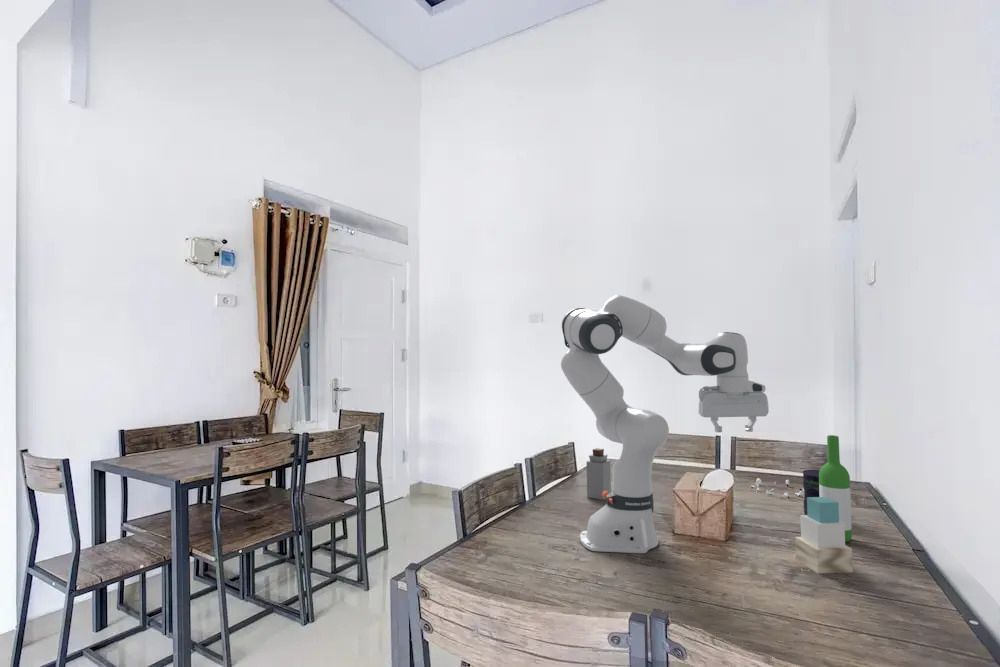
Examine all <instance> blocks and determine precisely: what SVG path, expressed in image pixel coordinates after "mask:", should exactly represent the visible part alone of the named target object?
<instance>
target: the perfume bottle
mask: <svg viewBox="0 0 1000 667" xmlns="http://www.w3.org/2000/svg"><path fill="white" fill-rule="evenodd" d="M604 453H605V449H604V448H600V447H599V448H597V447H595V448H593V449H592V454H589V455H588V457H589V460H587V461H586V498H590V499H596V500H601V501H605V500H606V499H605V498H604V497H603V496H602V493H603V491H607V492H608V493H610V492H612V490H611V488H612V487H611V485H612V483H611V480H612V479H611V477H612V475H611V460H610V459H608V454H604Z"/></svg>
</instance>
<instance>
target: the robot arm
mask: <svg viewBox="0 0 1000 667" xmlns="http://www.w3.org/2000/svg"><path fill="white" fill-rule="evenodd" d="M667 328H668V326H667V321H666V318H665V317H664V315H663V314H661V313H660V312H659V311H658V310H656V309H654V308H652V307H651V306H648V305H647V304H645V303H643V302H641V301H638V300H635V299H633V298H631V297H627V296H623V295H619V294H618V295H614V296H612V297H610V298H609V299H607V301H606V302H605V303H604V305H603V307H602V308H601V309H600V310H599V311H595V310H592V309H587V308H585V307H578V308H573V309H570V310H569V311H568V312H567V313H566V314H565V315H564V316H563V318H562V322H561V331H562V335H563V340H564V345H565V347H566V348H568V351H567V352H566V353H565V354H564V355H563V357H562V359H561V362H560V367H561V371H562V373H563V374H564V376H565V377H566V379H567V382H569V384H570V385H571V387H572V388H573V390H575V392H576V393H577V394H578V395H579V397H580V398H581V399H582V401H584V402H585V404H586V405H587V406H588V407H589V409H590V410H591V411H592V412H593V415H594V416H595V418H596V420H595V425H596V429H597V431H598V433H599V434H600V435H601V436H603V437H604V438H606V440H609V441H611V442H614V443H617V444H621V445H622V451H621V454H620V457H619V458H618V459H616V461H615V462H614V463H613V465H612V490H611V492H610V493H608V492H607V491H603V493H602V496H603V497H604V498H605V499H604V500H606V504H605V505H603V507H601V508H600V509H599V510H597V511H595V513H593V514H591V515H590V517H589V518H588V521H587V528H586V530H582V531H581V532H580V534H579V541H580V543H581V544H582V546H583V547H584V548H586V549H587V550H589V551H592V552H603V553H604V552H605V553H606V552H607V553H608V552H610V553H625V554H626V553H629V554H646V553H647V552H649V551H650V550H651V549H654V548H656V547H658V545H659V540H658V537H657V533H656V528H655V524H654V514H653V513H654V508H655V506H654V502H655V501H654V494H653V493H652V468H653V463H654V459H655V456H656V454H657V452H658V450H659V449H661V447H663V446H664V445H665V444H666V442H667V440H668V438H669V434H670V432H669V431H670V428H669V424H668V422H667V420H666V419H665V418H664V417H663V416H661V415H659V414H658V413H655V412H653V411H651V410H648V409H641V408H634V407H632V406H630V405H629V404H627V403H626V401H625V399H624V394H625V392H624V391H625V390H624V387H623V385H622V384H621V383H620V382H619V381H618V380H617V378H616V377H615V376H614V375H613V374H612V372H611V371H610V370H609V369H608V367H607V366H606V365H605V364H604V363H603V362H602V360H601V358H600V356H599V355H602V354H606V353H607V352H608V353H609V351H611V350H612V349H613V348H614V347H615V346H616V344H617V343H618V340H620V338H621V337H623V338H625V339H626V340H628V341H630V342H632V343H634V344H636V345H638V346H641V347H644V348H646V349H647V350H649V351H650V352H652V353H654V354H655V355H658V356H659V357H661V358H663V359H664V360H665V361H667V362H668V363H669V364H670V366H671V367H672V368H673V369H674V370H675V371H676V372H677V373H678V374H680V375H682V376H686V377H687V376H706V377H707V376H709V377H710V376H711V377H715V376H716V385H713V386H708V385H707V386H703V387H701V388H700V389H699V391H698V399H699V402H698V414H699V415H700V416H701V417H703V418H710V422H711V423H712V424H713V426H714V433H723V426H721V425H719V423H718V421H719V418H739V417H741V418H742V417H743V418H744V417H746V418H747V417H748V420H749V422H748V423H747V424H745V425H744V429H745V432H749V433H750V432H753V431H754V425H755V424H756V422H757V417H767V416H768V414H769V400H768V396H767V394H766V393H765V392H766V390H767V389H766V385H764V384H762V383H758V382H756V381H754V380H753V381H752V380H749V373H748V369H747V368H748V363H749V359H748V358H749V357H748V356H749V354H748V344H747V342H746V341H747V340H746V338H745V336H744V335H742V334H740V333H737V332H732V331H731V332H730V331H723V332H719V333H718V334H717V335H716V337H715V338H713V339H711V340H710V341H706V343H680V342H677V341H675V340H674V339H672V338H670V337H669V336H667V335H666V333H667Z"/></svg>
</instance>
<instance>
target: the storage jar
mask: <svg viewBox="0 0 1000 667" xmlns="http://www.w3.org/2000/svg"><path fill="white" fill-rule="evenodd" d="M819 471H820V469H805V470H803V471H802V484H803V485H802V488H804V494H803V496H804V499H803V513H804V514H803V515H807V497H820V496H819Z"/></svg>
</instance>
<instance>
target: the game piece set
mask: <svg viewBox="0 0 1000 667" xmlns="http://www.w3.org/2000/svg"><path fill="white" fill-rule="evenodd" d="M755 480H756V482H755V484H754V485H752V484H751V486H752V487H756V488H753V489H754V491H755V490H759V491H760V488H759V484H761V485H763V482H762V480H761V478H759V477H758V478H757V479H755ZM774 483H775V484H776V483H777V482H776V481H774ZM786 484H789V485H790V480H789V479H786V480H785V485H786ZM801 488H802V490H799V492H795V493H794V494H797V495H798V496H799V495H801V496H802V495H803V492H804V488H803V487H801ZM774 490H775V489H774V488H772V489H770V490H768V489H765V491H766V492H765V494H767V495H768V494H773V495H774V494H775V492H772V491H774ZM784 495H785V496H789V497H790V495H789V492H784V493H783V496H784ZM797 495H796V496H797Z"/></svg>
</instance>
